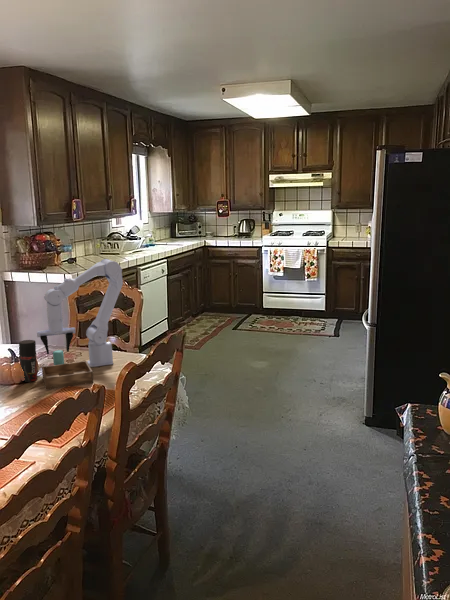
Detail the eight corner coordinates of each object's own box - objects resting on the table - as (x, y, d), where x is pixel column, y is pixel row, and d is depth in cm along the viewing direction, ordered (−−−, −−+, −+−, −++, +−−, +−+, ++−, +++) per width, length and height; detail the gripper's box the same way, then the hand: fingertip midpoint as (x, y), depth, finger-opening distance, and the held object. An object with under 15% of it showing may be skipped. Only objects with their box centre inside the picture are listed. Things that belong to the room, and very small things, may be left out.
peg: (64, 368, 215) (62, 349, 213) (65, 371, 211) (63, 352, 210) (53, 369, 213) (52, 351, 212) (54, 372, 210) (53, 353, 208)
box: (87, 371, 211) (86, 360, 210) (93, 382, 198) (92, 371, 198) (42, 377, 204) (41, 367, 203) (46, 390, 192) (45, 378, 191)
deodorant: (31, 382, 199) (29, 344, 197) (17, 381, 200) (15, 343, 198) (40, 377, 205) (38, 340, 202) (26, 376, 206) (24, 339, 203)
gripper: (36, 323, 202) (39, 357, 204) (75, 319, 207) (77, 352, 210) (35, 319, 208) (38, 352, 211) (73, 315, 214) (75, 347, 216)
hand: (57, 352), depth 211 cm, fingers open, 7 cm apart
